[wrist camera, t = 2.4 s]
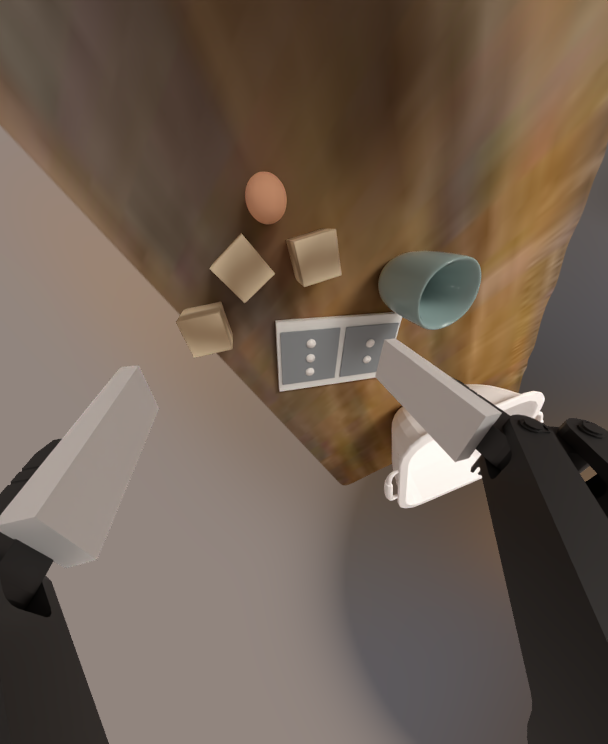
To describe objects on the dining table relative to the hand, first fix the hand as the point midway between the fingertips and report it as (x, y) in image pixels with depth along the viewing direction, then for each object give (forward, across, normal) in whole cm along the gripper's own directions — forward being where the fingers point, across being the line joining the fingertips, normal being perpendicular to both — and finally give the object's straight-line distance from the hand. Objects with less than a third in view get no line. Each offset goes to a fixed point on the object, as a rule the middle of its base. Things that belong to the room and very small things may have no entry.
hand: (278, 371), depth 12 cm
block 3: (+19, +7, +4) cm, 21 cm away
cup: (+19, +20, +1) cm, 28 cm away
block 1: (+14, -6, -4) cm, 16 cm away
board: (+19, +12, -10) cm, 25 cm away
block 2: (+19, -1, +3) cm, 19 cm away
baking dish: (+19, +37, -31) cm, 52 cm away
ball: (+19, +2, +9) cm, 21 cm away
